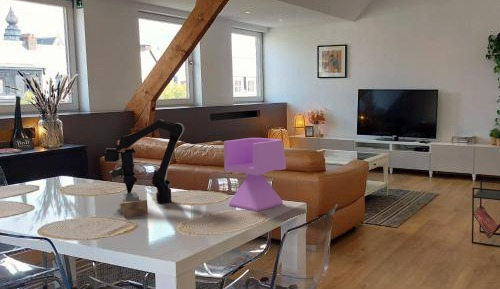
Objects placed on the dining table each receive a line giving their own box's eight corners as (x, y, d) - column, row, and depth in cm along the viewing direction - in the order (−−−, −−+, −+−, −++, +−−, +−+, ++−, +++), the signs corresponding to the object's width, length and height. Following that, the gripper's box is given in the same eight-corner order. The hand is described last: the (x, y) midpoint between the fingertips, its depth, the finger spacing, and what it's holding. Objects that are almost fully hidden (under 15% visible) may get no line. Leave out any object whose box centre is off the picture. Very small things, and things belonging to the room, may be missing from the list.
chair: (225, 206, 228) (223, 141, 225) (254, 198, 243) (253, 137, 239) (257, 212, 215) (256, 143, 211) (286, 204, 229) (285, 139, 226)
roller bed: (141, 203, 237) (140, 196, 237) (147, 213, 217) (146, 205, 217) (119, 205, 234) (119, 198, 234) (123, 216, 214) (123, 208, 213)
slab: (136, 196, 237) (135, 192, 237) (139, 201, 226) (138, 197, 226) (123, 197, 235) (122, 193, 235) (125, 202, 224) (125, 198, 224)
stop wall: (147, 213, 217) (146, 199, 217) (147, 214, 216) (147, 200, 215) (123, 215, 214) (122, 202, 214) (124, 216, 212) (123, 203, 212)
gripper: (108, 160, 244) (110, 191, 245) (111, 165, 226) (113, 199, 228) (132, 159, 247) (133, 190, 249) (136, 164, 230) (137, 197, 231)
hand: (129, 194), depth 239 cm, fingers closed
